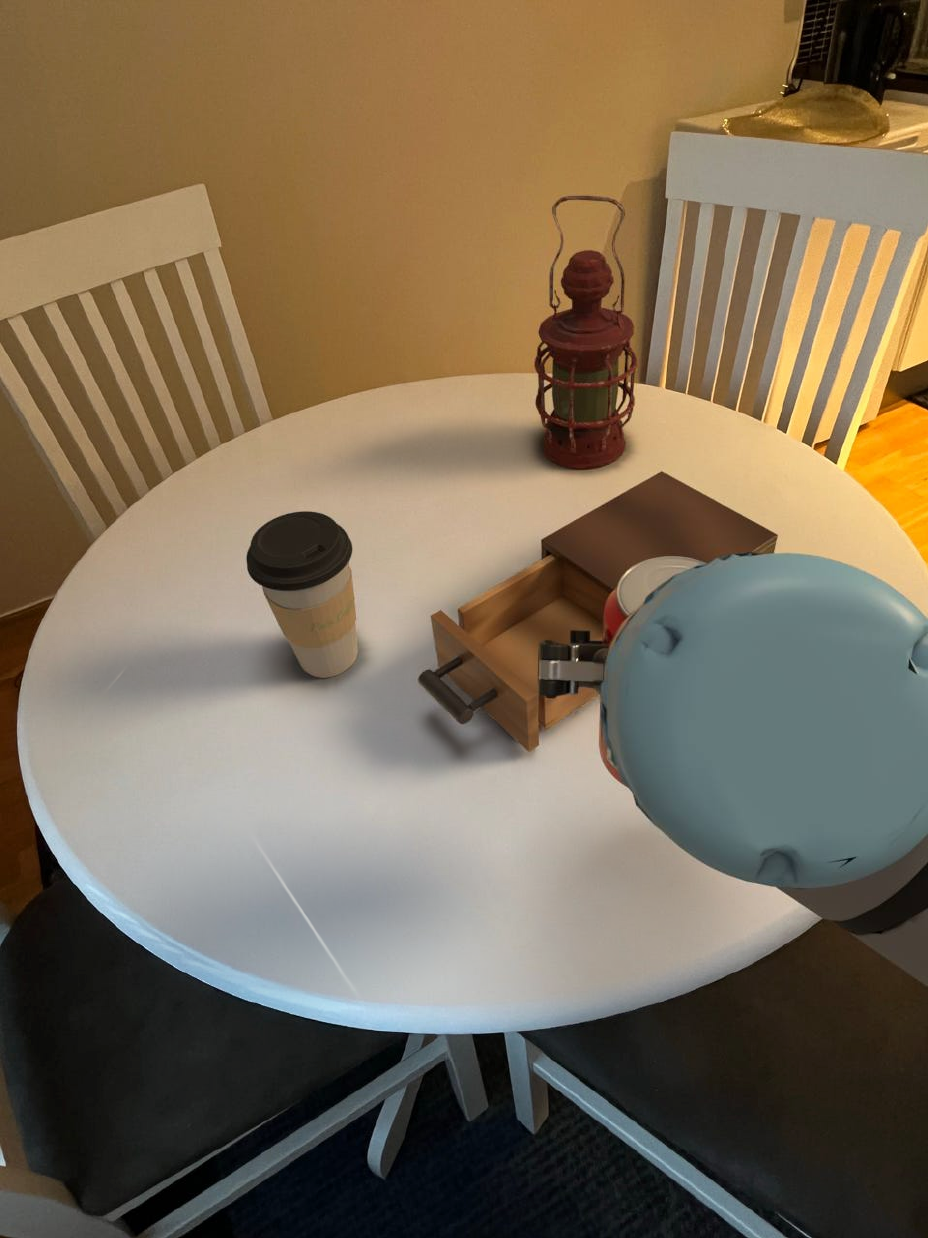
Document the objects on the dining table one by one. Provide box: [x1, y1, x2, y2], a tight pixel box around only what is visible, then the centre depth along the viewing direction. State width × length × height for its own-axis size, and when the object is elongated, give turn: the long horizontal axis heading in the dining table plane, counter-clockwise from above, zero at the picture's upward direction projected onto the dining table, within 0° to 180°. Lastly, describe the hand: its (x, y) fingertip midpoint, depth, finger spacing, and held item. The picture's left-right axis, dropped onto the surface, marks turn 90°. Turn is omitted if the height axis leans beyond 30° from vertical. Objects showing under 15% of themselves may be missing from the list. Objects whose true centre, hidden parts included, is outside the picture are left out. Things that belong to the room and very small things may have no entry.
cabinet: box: [540, 470, 779, 594], centre depth 82 cm, size 17×15×9 cm
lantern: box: [533, 195, 638, 470], centre depth 96 cm, size 12×12×30 cm
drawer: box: [417, 554, 610, 753], centre depth 75 cm, size 20×13×7 cm
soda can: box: [598, 556, 706, 788], centre depth 51 cm, size 8×8×15 cm
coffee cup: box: [245, 510, 359, 679], centre depth 78 cm, size 9×9×15 cm
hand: (659, 662), depth 55 cm, fingers closed on soda can, 8 cm apart
